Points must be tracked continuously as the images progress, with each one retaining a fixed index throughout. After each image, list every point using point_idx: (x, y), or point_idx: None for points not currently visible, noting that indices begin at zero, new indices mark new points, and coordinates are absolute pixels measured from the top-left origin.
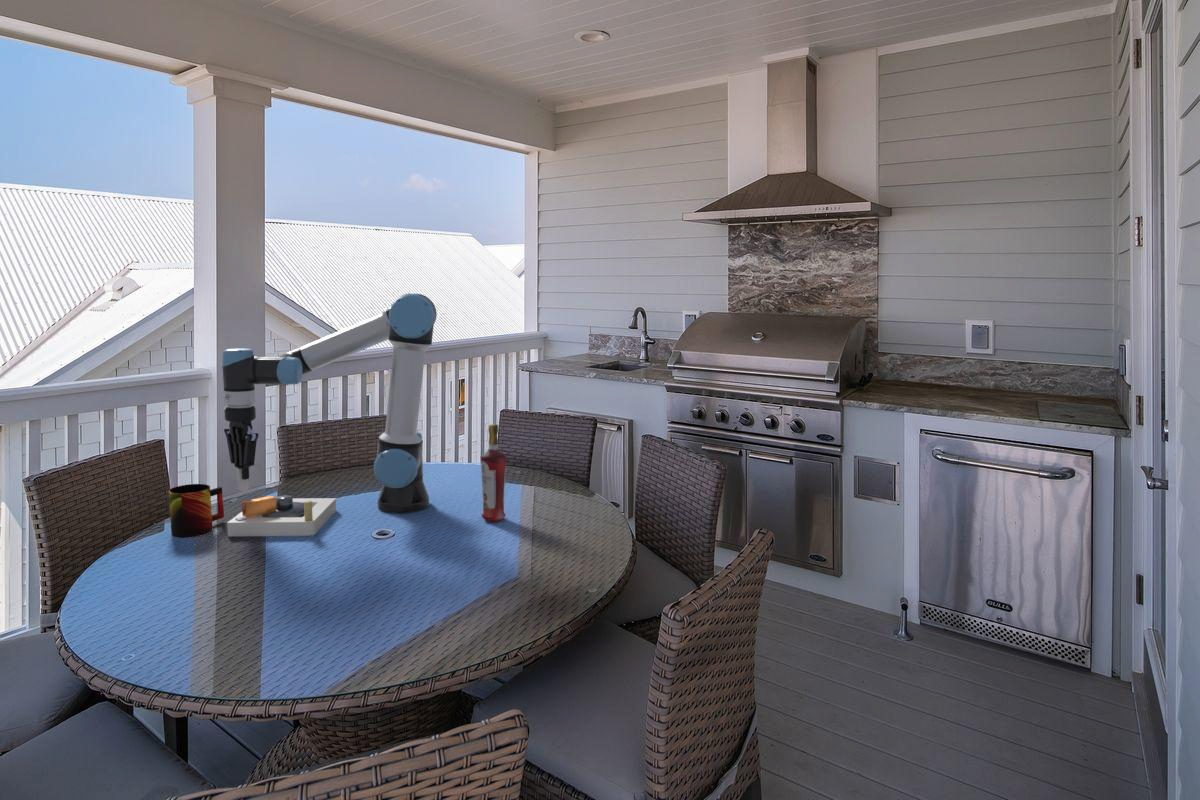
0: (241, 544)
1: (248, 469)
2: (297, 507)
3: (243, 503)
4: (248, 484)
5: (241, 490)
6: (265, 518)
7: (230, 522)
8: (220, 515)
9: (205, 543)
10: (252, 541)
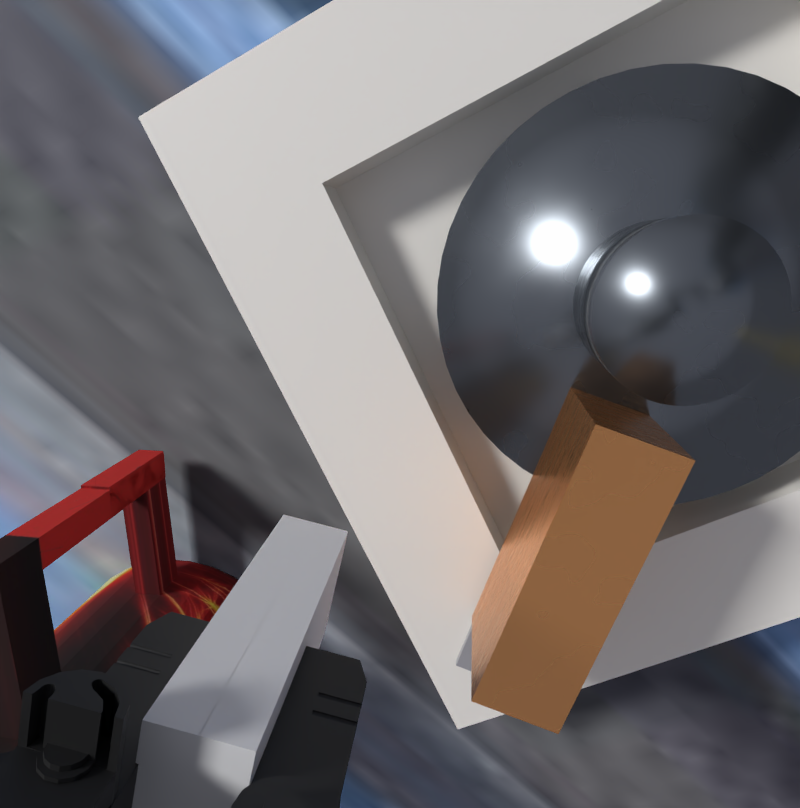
0: (656, 739)
1: (339, 793)
2: (773, 233)
3: (506, 707)
4: (331, 574)
5: (325, 626)
6: (667, 563)
7: (478, 721)
8: (154, 488)
9: (434, 784)
10: (684, 680)
